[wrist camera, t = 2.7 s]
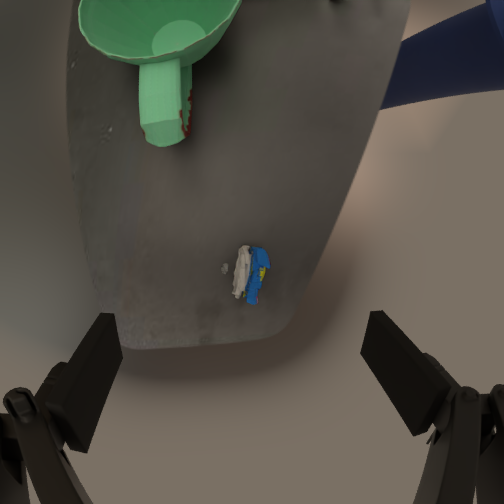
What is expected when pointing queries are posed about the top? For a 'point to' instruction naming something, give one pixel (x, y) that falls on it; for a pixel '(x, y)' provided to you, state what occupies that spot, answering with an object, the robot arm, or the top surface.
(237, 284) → the toy
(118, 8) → the mug
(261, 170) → the top surface
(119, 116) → the top surface
